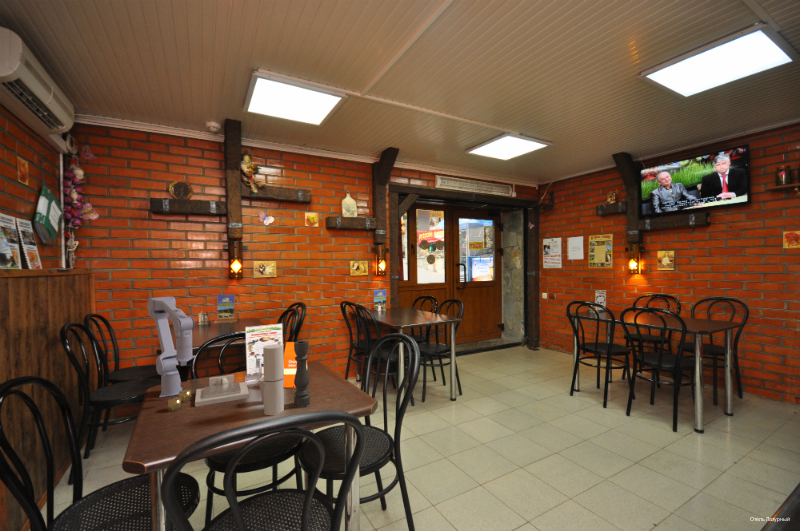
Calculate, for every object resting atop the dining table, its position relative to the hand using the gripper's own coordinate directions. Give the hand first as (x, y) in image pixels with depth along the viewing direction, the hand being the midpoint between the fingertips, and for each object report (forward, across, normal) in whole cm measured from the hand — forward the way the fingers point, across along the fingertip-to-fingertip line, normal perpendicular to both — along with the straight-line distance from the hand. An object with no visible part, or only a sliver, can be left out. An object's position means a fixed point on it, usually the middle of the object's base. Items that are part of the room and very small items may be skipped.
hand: (184, 379), depth 151 cm
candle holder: (+9, -29, -42) cm, 52 cm away
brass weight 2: (+9, 0, 0) cm, 9 cm away
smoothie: (+9, -19, -30) cm, 37 cm away
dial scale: (+9, -1, -14) cm, 17 cm away
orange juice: (+9, -2, -45) cm, 46 cm away
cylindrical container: (+9, -31, -31) cm, 45 cm away
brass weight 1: (+9, -9, +3) cm, 13 cm away
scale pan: (+7, -1, -14) cm, 16 cm away
